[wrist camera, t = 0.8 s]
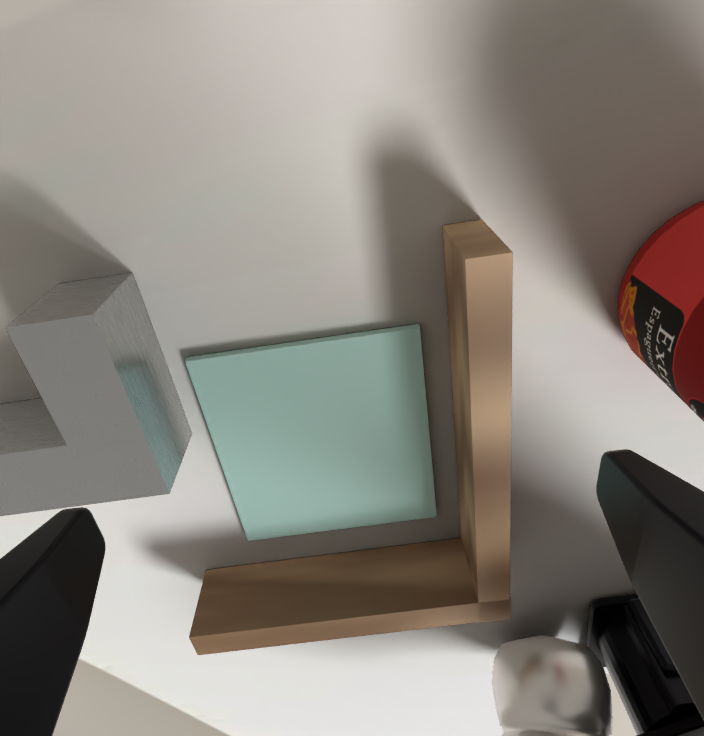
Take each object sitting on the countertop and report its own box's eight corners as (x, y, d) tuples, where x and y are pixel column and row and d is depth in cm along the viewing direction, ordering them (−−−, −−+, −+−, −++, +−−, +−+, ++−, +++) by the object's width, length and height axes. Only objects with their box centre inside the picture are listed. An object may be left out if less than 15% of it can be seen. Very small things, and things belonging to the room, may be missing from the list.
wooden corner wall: (489, 553, 30) (510, 618, 26) (213, 587, 30) (198, 655, 27) (483, 219, 20) (514, 251, 17) (82, 280, 21) (33, 323, 17)
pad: (435, 511, 28) (436, 516, 27) (248, 535, 28) (247, 541, 28) (418, 323, 22) (419, 327, 22) (187, 357, 23) (185, 361, 22)
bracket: (192, 433, 25) (169, 493, 21) (28, 456, 25) (-21, 518, 22) (132, 272, 21) (92, 314, 17) (-62, 302, 21) (-139, 349, 18)
